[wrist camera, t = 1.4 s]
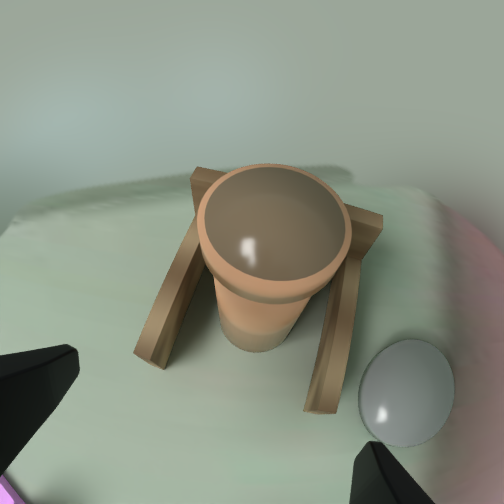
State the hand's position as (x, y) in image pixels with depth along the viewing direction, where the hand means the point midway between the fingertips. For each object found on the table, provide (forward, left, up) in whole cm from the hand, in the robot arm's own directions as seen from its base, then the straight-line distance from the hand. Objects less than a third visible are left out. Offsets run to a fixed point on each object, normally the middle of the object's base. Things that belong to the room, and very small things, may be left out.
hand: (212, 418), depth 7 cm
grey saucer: (-1, -14, -13) cm, 20 cm away
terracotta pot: (+7, -3, -13) cm, 16 cm away
